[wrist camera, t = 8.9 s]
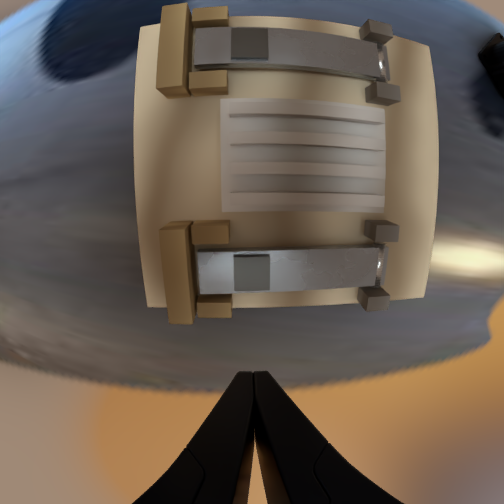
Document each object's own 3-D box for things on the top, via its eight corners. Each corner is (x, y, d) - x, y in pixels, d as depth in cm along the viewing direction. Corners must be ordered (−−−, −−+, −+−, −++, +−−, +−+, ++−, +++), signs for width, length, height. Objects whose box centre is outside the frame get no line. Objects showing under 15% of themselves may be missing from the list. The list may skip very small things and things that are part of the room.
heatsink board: (422, 50, 15) (451, 34, 11) (417, 292, 20) (444, 314, 16) (145, 32, 14) (124, 7, 11) (151, 300, 20) (133, 329, 16)
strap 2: (383, 241, 17) (391, 246, 16) (377, 282, 18) (385, 288, 17) (198, 245, 17) (196, 251, 16) (201, 290, 18) (199, 298, 16)
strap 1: (380, 48, 14) (388, 42, 13) (384, 85, 15) (392, 81, 14) (197, 32, 13) (195, 24, 12) (195, 71, 14) (193, 65, 13)
